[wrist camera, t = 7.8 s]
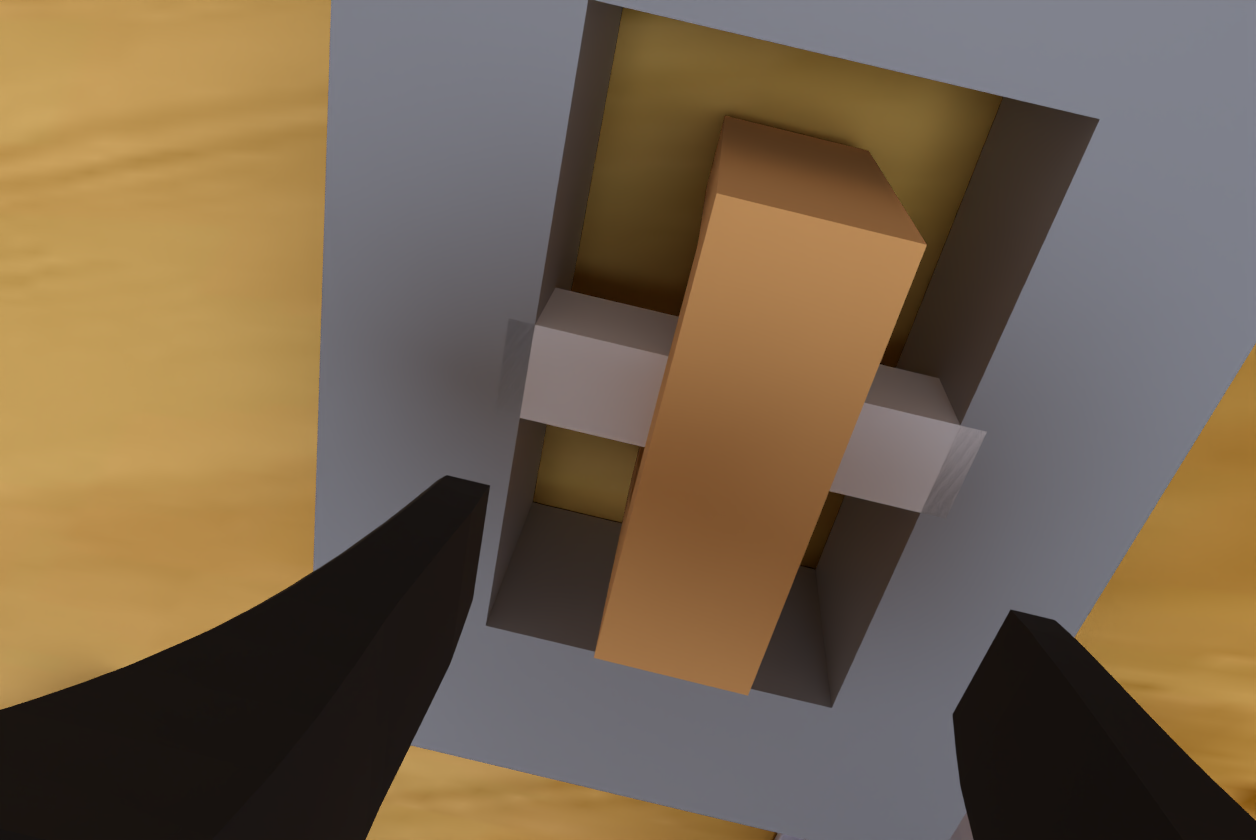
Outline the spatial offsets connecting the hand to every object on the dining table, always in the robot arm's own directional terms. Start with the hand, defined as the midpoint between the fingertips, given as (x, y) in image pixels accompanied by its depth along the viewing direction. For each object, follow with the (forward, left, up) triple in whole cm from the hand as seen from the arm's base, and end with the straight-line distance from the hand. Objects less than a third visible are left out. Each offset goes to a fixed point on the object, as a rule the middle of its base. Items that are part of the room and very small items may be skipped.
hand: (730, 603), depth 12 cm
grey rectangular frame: (0, 0, -10) cm, 10 cm away
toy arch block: (0, 0, -9) cm, 9 cm away
